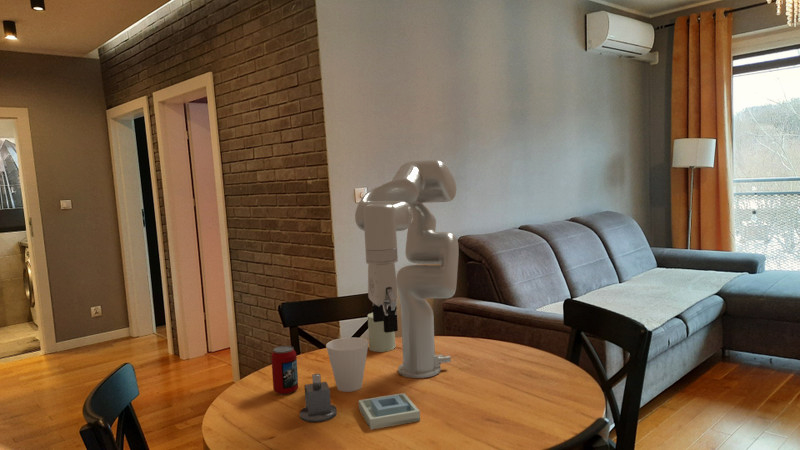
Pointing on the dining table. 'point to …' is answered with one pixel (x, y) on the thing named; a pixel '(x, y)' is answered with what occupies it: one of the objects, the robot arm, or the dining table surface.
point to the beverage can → (284, 370)
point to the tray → (388, 420)
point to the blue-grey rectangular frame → (388, 405)
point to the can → (379, 336)
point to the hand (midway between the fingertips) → (385, 326)
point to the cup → (348, 362)
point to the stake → (317, 402)
